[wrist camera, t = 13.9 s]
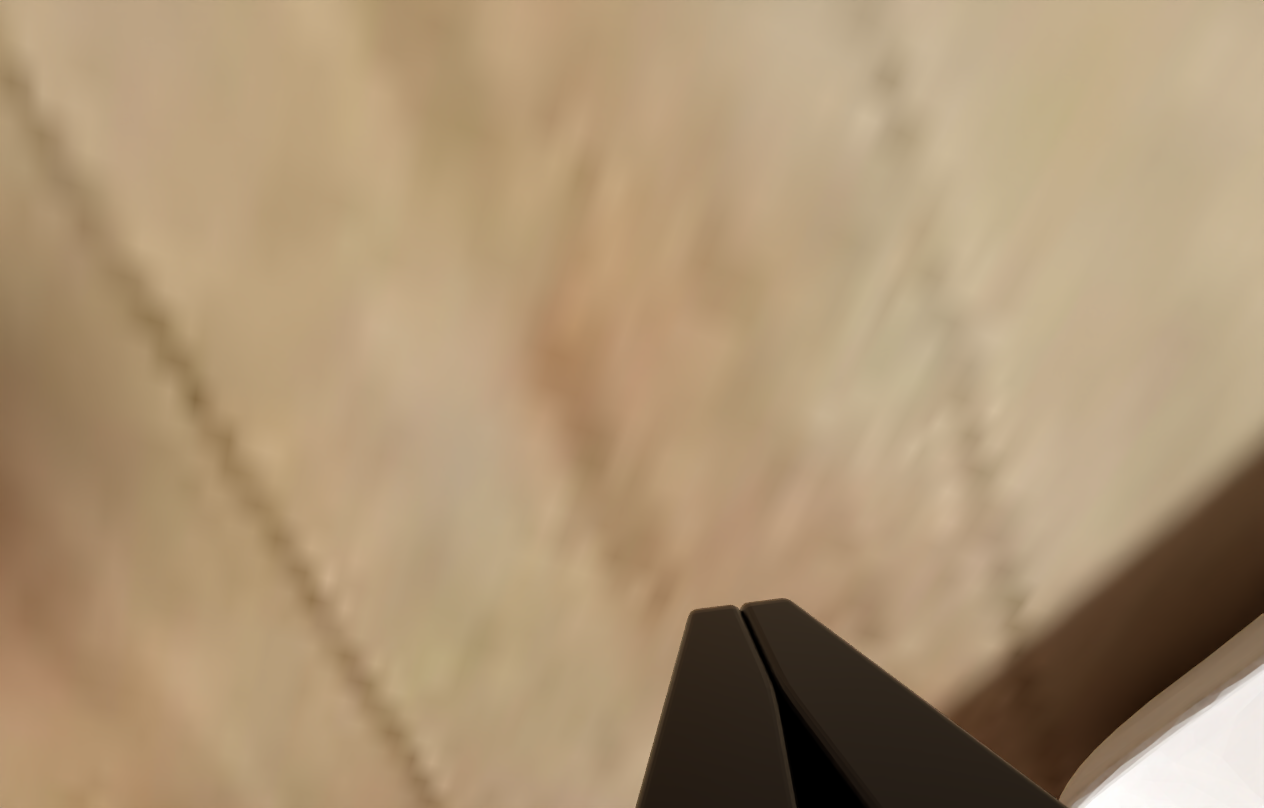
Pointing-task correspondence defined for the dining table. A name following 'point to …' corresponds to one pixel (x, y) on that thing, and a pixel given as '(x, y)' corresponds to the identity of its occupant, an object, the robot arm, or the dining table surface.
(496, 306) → the dining table surface
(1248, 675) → the salad plate
